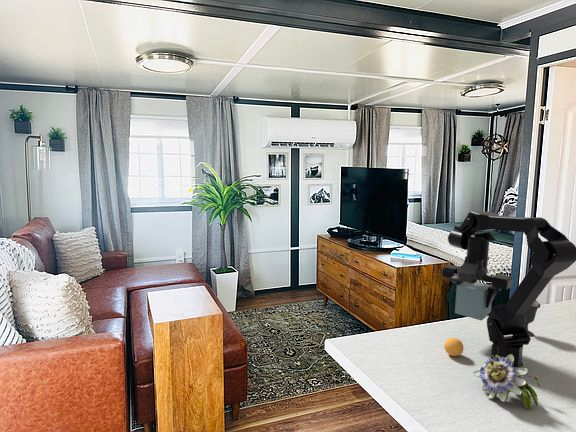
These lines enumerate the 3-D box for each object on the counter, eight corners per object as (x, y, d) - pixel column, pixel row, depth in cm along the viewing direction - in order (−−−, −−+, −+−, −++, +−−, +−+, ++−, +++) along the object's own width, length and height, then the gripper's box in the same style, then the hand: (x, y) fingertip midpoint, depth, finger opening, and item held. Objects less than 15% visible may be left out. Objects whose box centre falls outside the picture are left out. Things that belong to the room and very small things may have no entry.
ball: (465, 355, 111) (467, 338, 111) (458, 361, 108) (459, 344, 107) (448, 349, 115) (449, 333, 114) (440, 354, 111) (441, 338, 111)
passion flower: (490, 420, 92) (462, 370, 95) (514, 397, 97) (487, 351, 101) (532, 419, 83) (499, 364, 86) (557, 394, 88) (525, 343, 91)
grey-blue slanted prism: (490, 313, 119) (493, 285, 118) (481, 320, 114) (483, 291, 112) (464, 306, 124) (466, 280, 123) (454, 313, 119) (456, 285, 118)
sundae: (541, 338, 122) (546, 292, 120) (517, 336, 124) (522, 290, 122) (532, 330, 129) (537, 286, 127) (510, 328, 130) (514, 284, 128)
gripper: (434, 252, 117) (431, 302, 119) (502, 264, 104) (497, 320, 106) (450, 246, 125) (447, 293, 127) (515, 257, 112) (510, 309, 114)
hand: (473, 303), depth 118 cm, fingers closed on grey-blue slanted prism, 8 cm apart
